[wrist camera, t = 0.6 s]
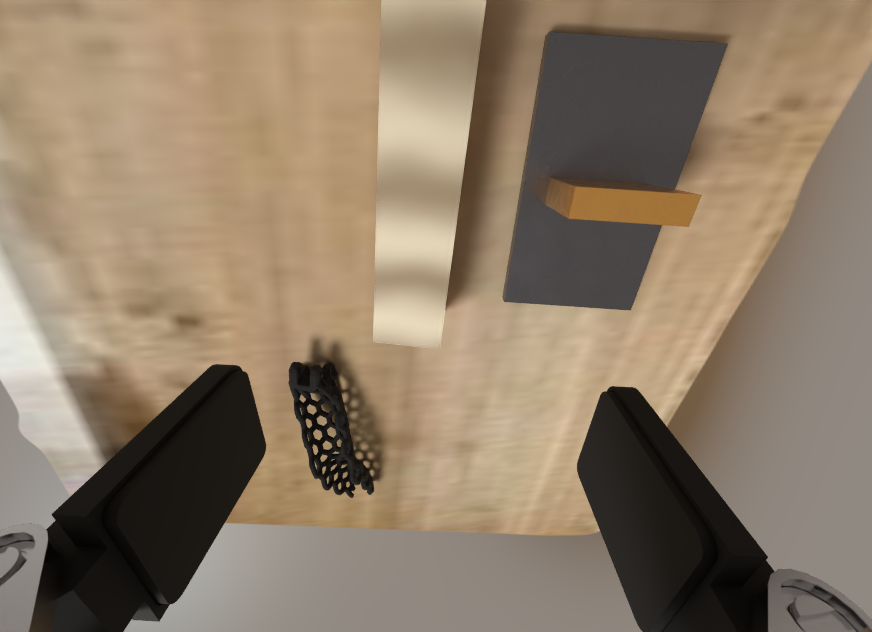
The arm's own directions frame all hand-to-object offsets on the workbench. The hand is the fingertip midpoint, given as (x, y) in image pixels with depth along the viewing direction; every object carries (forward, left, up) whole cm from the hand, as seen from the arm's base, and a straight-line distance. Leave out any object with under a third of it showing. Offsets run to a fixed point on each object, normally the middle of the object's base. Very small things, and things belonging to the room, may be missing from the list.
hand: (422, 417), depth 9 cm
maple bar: (-4, -1, -23) cm, 24 cm away
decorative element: (+24, -11, -24) cm, 36 cm away
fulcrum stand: (-4, +13, -23) cm, 27 cm away
